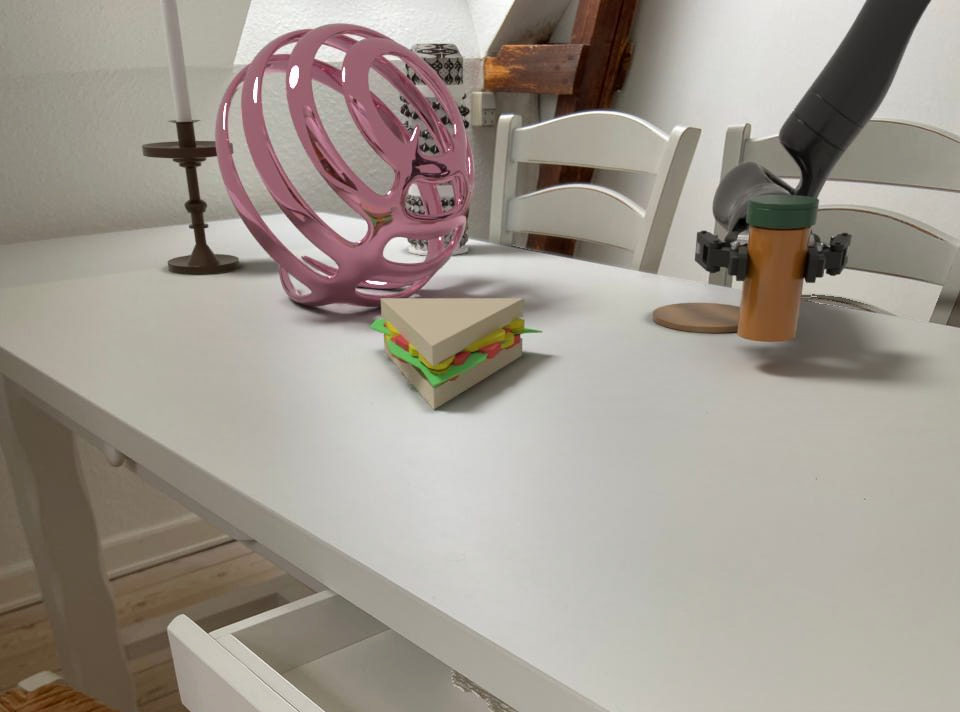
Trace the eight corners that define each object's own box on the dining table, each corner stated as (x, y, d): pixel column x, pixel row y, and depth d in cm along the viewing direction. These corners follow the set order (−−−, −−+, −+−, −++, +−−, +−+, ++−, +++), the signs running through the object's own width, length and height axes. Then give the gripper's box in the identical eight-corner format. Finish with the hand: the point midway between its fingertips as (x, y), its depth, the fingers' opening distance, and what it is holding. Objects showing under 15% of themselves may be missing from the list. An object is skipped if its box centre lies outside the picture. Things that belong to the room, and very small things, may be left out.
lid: (781, 215, 87) (784, 192, 86) (831, 223, 82) (835, 200, 81) (731, 221, 84) (734, 198, 83) (780, 230, 80) (783, 206, 79)
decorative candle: (399, 246, 144) (391, 43, 131) (462, 243, 146) (460, 43, 133) (411, 257, 136) (403, 43, 123) (477, 254, 138) (476, 43, 125)
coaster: (709, 303, 111) (709, 298, 111) (781, 324, 103) (782, 318, 103) (631, 316, 107) (631, 310, 106) (700, 338, 98) (701, 332, 98)
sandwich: (307, 400, 81) (301, 338, 79) (389, 341, 98) (387, 288, 95) (490, 416, 78) (490, 351, 75) (543, 352, 94) (545, 297, 92)
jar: (766, 324, 91) (782, 199, 85) (808, 336, 87) (827, 206, 82) (725, 332, 89) (739, 205, 83) (765, 345, 85) (783, 212, 80)
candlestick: (143, 270, 129) (88, -61, 111) (204, 257, 137) (162, -54, 119) (204, 279, 124) (156, -66, 106) (264, 264, 132) (229, -58, 114)
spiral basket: (143, 101, 110) (262, -84, 89) (352, 154, 128) (490, 10, 108) (196, 343, 107) (330, 209, 87) (401, 360, 126) (551, 253, 106)
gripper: (696, 191, 96) (693, 219, 82) (852, 192, 94) (877, 221, 79) (688, 272, 100) (685, 313, 86) (838, 276, 98) (860, 318, 83)
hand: (777, 269), depth 83 cm, fingers closed on jar, 5 cm apart
